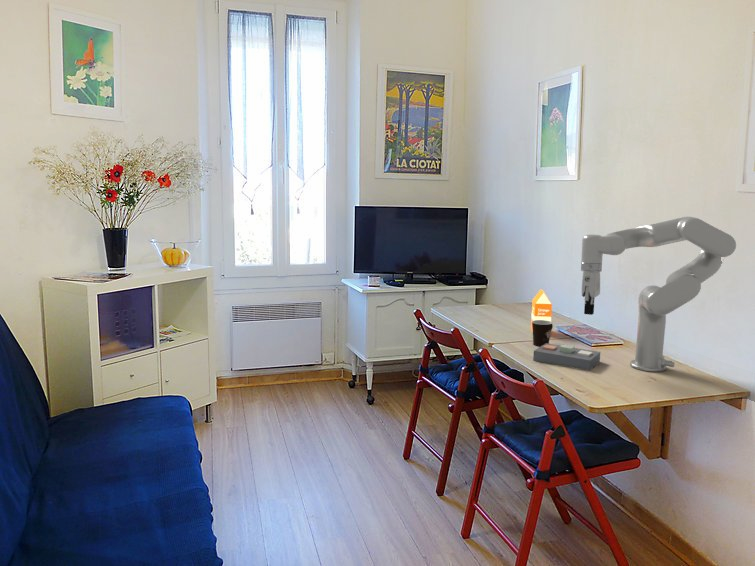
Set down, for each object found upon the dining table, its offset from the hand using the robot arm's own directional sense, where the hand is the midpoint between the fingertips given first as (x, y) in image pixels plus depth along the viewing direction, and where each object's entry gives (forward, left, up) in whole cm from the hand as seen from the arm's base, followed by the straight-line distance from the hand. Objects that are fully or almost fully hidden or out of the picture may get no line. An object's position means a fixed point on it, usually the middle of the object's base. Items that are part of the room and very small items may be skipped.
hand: (588, 313), depth 237 cm
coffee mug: (+23, -17, -20) cm, 35 cm away
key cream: (0, +2, -18) cm, 18 cm away
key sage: (+7, +2, -17) cm, 18 cm away
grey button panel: (+7, +2, -20) cm, 21 cm away
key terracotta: (+14, +2, -18) cm, 23 cm away
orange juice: (+32, -37, -20) cm, 53 cm away
